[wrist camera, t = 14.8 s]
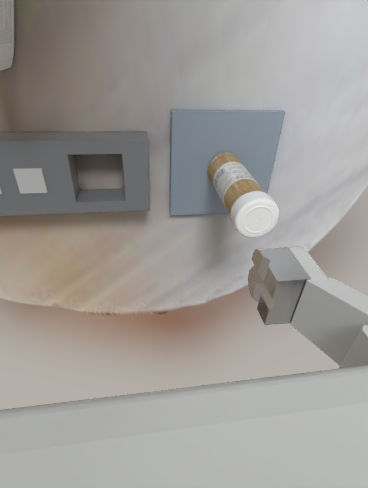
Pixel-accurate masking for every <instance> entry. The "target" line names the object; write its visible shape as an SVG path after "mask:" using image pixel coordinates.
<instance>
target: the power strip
mask: <svg viewBox="0 0 368 488" xmlns="http://www.w3.org/2000/svg"><path fill="white" fill-rule="evenodd" d="M76 154H122V161H123V173H124V186H125V189H96V190H80V189H79V183H78V177H77V171H76V166H75V160H74V155H76ZM146 210H150V194H149V160H148V138H147V132H0V216H18V215H43V214H69V213H95V212H120V211H146Z"/></svg>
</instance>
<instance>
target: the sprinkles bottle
mask: <svg viewBox="0 0 368 488" xmlns="http://www.w3.org/2000/svg"><path fill="white" fill-rule="evenodd" d="M208 176H209V178H210V180H211V181H212V182H213V183H214V187H215V189H216V191H217V192H218V194H219V196H220V198H221V200H222V202H223V204H224V206H225V207H226V208H227V209H228V211H229V213H230V215H231V220H232V222H233V224H234V226H235V228H236V229H237V231H238V232H239V233H240V234H241V235H243V236H245V237H250V238H255V237H260V236H262V235H265V234H266V233H268V232H269V231H271V230H272V229H273V228H274V226H275V225H276V223H277V221H278V218H279V209H278V206H277V205H276V203H275V202H274V200H273V199H272V198H271V197H270V196H269V195H268V194H267V193H265V192H264V191H263V190H262V189H261V187H260V186H259V184H258V183H257V182H256V180H255V179H254V178H253V177H252V175H251V174H250V173H249V172H248V171H247V169H246V168H245V167H244V166H243V165H242V164H241V163H240V161H239V159H238V157H237V156H235V155H234V154H232V153H227V152H225V153H221V154H218V155H217V156H215V157H214V158H213V159H212V160H211V162H210V164H209V166H208Z"/></svg>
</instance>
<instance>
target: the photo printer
mask: <svg viewBox="0 0 368 488" xmlns="http://www.w3.org/2000/svg"><path fill="white" fill-rule="evenodd" d="M13 55H14V0H0V71H1V70H5V69H8V68H10V67H11V66H12V62H13Z"/></svg>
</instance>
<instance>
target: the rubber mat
mask: <svg viewBox="0 0 368 488" xmlns="http://www.w3.org/2000/svg"><path fill="white" fill-rule="evenodd" d="M284 115H285V112H284V111H252V110H171V158H170V215H194V214H218V213H229V211H228V209H227V208H226V207H225V206H224V204H223V202H222V200H221V198H220V196H219V194H218V192H217V191H216V189H215V187H214V183H213V182H212V181H211V180H210V178H209V176H208V166H209V164H210V162H211V160H212V159H213V158H214V157H215V156H217V155H218V154H221V153H225V152H227V153H232V154H234V155H235V156H237V157H238V159H239V161H240V163H241V164H242V165H243V166H244V167H245V168H246V169H247V171H248V172H249V173H250V174H251V175H252V177H253V178H254V179H255V180H256V182H257V183H258V184H259V186H260V187H261V189H262V190H263V191H264V192H265V193H268V188H269V183H270V179H271V174H272V170H273V165H274V161H275V156H276V151H277V147H278V142H279V138H280V133H281V128H282V124H283V119H284Z"/></svg>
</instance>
